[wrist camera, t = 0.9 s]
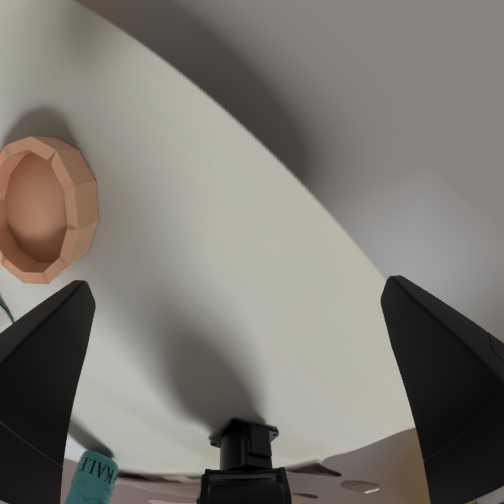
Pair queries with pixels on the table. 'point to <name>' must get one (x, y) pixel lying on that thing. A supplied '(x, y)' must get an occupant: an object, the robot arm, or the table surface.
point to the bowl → (45, 208)
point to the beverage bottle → (93, 480)
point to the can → (4, 319)
